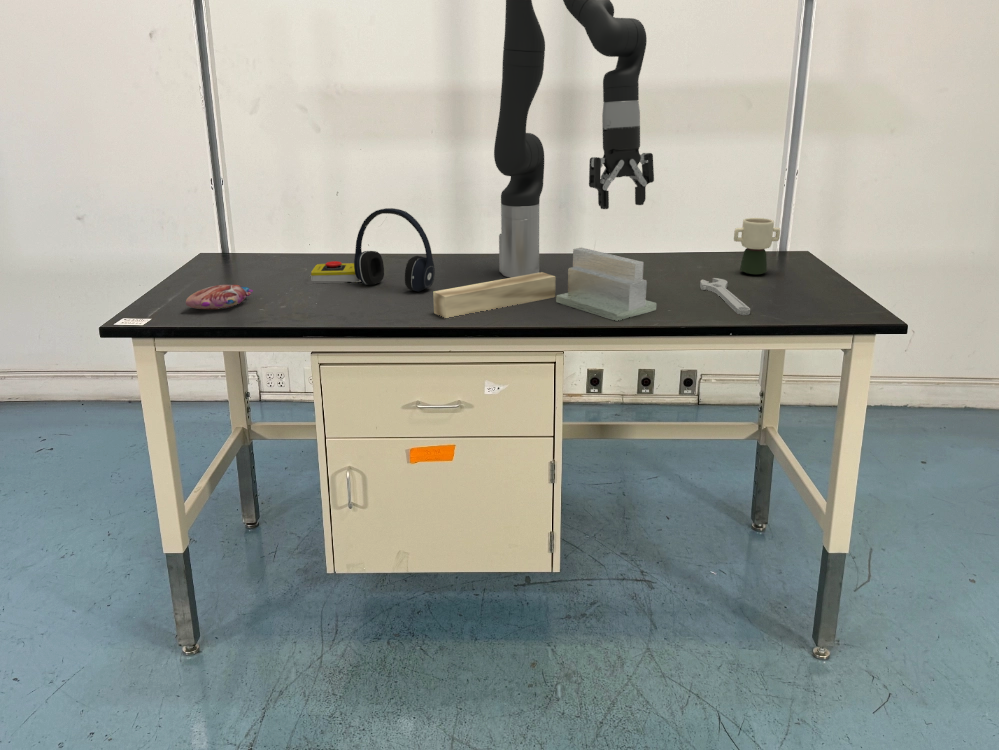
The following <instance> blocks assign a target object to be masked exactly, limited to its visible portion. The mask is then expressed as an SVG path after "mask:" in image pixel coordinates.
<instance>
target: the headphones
mask: <svg viewBox="0 0 999 750" xmlns="http://www.w3.org/2000/svg"><path fill="white" fill-rule="evenodd" d="M383 214H386V215H387V214H389V215H390V214H392V215H396V216H397V217H398V216H399V217H401V218H403V219H404V220H406V221H407V222H408V223H409V224H410V225H412V227H413V228H414V229H415V230H416V232H417V233H418V235H419V237H420V239H421V240H422V243H423V247H424V250H425V256H421V255H415V256H412V257H411V258H409V259H408V261H407V263H406V265H405V266H406V267H405V269H404V284H405V287H406V288H407V289H409V290H411V291H415V292H422V291H424V290H425V289H428V288H429V289H430V287H431V286H433V283H434V281H435V275H436V274H435V273H436V272H435V271H436V268H435V263H434V259H433V253H432V248H431V247H432V246H431V244H430V241H429V239H428V236H427V234H426V232H425V230H424V229H423V227H422V225H421V223H419V221H417V219H416V218H415V217H414V216H413V215H412V214H410V213H408V212H407V211H406V210H403V209H399V208H392V207H390V208H385V207H384V208H380V209H377V210H374V211H373V212H371V213H370V214H369V215H368V216H366V218H365V219H364V220H363V222H362V224H361V226H360V227H359V230H358V233H357V237H356V242H355V248H354V249H355V251H354V259H353V260H354V261H353V263H354V270H355V274H356V277H357V278H358V279H360V280H361V282H362V283H361V284H363V285H366V286H371V285H377V284H379V283H381V282H382V280H384V277H385V266H384V261H383V258H382V255H381V254H380V253H379V252H378V251H377V250H376V251H375V250H362V246H363V245H362V243H363V238H364V234H365V231H366V229H367V228H368V226H369V224H370V223H371V222H372V221H373V220H374V219H375V218H377V217H378V216H379V215H383Z"/></svg>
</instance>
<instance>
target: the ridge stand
mask: <svg viewBox="0 0 999 750" xmlns="http://www.w3.org/2000/svg"><path fill="white" fill-rule="evenodd" d="M567 274H568V275H567V276H568V277H567V278H568V279H567V292H565V293H561V294H557V295H556V294H555V303H558V304H561V305H562V306H566V307H569V308H573V309H576V310H579V311H583V312H585V313H589V314H592V315H595V316H598V317H601V318H605V319H608V320H611V321H614V320H615V321H614V322H619V321H622V319H623V320H626V319H630V318H633V317H635V316H636V317H637V316H640V315H643V314H647V313H651V312H653V311H657V302H654V301H651V300H647V285H648V284H647V283H648V282H647V281H648V280H647V279H644V261H641V260H636V259H632V258H627V257H623V256H618V255H616V254H615V255H614V254H611V253H607V252H604V251H603V252H602V251H599V250H598V251H597V250H593V249H590V248H585V247H577V248H573V249H572V267H568V271H567ZM629 317H630V318H629ZM618 320H619V321H618Z"/></svg>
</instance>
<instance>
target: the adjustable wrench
mask: <svg viewBox="0 0 999 750" xmlns="http://www.w3.org/2000/svg"><path fill="white" fill-rule="evenodd" d="M711 281H712V282H710V281H707V280H705V279H701V280H700V282H699V287H700V290H702V291H707V290H708V292H711V291H712V292H711V293H714V294H715V295H717V296H718V297H719V296H720V297H721V298H722V299H723V300H724V301H725V302H724V301H723V300H722V299H721V298H720V297H719V298H720V299H721V300H722V301H723V302H724V303H726V305H728V306H729V307H730V308H731V309H732V311H734V312H735V313H736V314H737V315H739V314H740V315H741V316H748V315H750V313H751V308H750V307H749V306H748V305H747V304H746V303H744V302H743V301H742V300H740V299H739V297H737V296H736V295H735V294H733V293H732V292H731V291H730V290H729V289H727V287H728V280H726V279H724V278H717V277H712V280H711Z"/></svg>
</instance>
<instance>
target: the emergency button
mask: <svg viewBox="0 0 999 750" xmlns="http://www.w3.org/2000/svg"><path fill="white" fill-rule="evenodd" d="M310 272H311V274H310V276H311V281H352V282H353V281H355V282H356V281H359V280H360V279H358V278H357V277H356V274H355V270H354V262H350V263H345V262H344V263H342V262H341V261H338V260H337V261H335V260H333V261H327V262H326V263H318V264H316V265H315V266H314V267H313V269H312V270H311V271H310Z"/></svg>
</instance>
